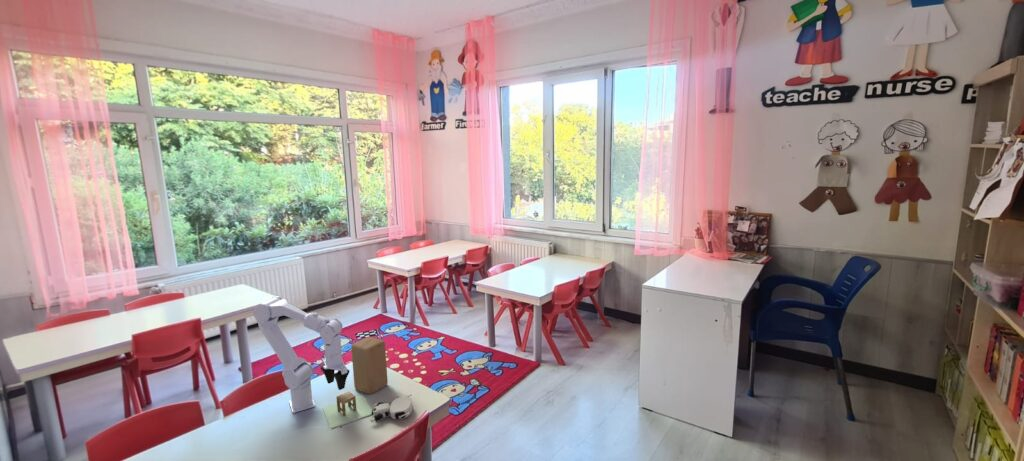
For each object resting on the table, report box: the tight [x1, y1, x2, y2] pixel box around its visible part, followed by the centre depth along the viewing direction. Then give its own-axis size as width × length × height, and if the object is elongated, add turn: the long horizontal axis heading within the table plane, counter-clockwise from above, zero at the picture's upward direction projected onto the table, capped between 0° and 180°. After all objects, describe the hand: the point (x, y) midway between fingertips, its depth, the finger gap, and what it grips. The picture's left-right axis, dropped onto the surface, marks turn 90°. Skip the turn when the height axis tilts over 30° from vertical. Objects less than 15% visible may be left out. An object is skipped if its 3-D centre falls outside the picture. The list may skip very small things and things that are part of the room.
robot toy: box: [369, 394, 414, 423], centre depth 157 cm, size 12×4×15 cm
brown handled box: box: [335, 391, 357, 416], centre depth 159 cm, size 5×5×6 cm
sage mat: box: [322, 394, 373, 430], centre depth 160 cm, size 15×15×1 cm
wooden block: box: [350, 336, 388, 395], centre depth 175 cm, size 10×10×20 cm
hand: (336, 385), depth 160 cm, fingers open, 7 cm apart
